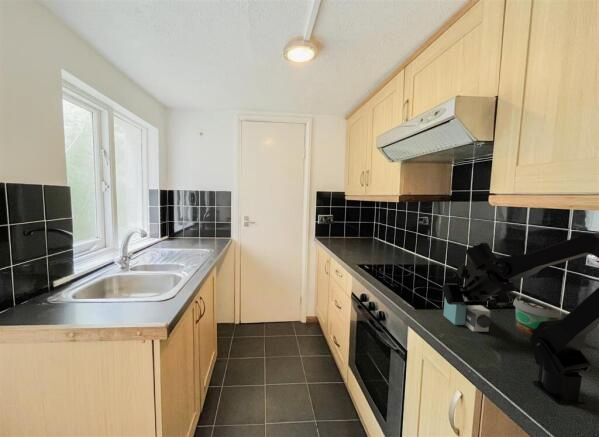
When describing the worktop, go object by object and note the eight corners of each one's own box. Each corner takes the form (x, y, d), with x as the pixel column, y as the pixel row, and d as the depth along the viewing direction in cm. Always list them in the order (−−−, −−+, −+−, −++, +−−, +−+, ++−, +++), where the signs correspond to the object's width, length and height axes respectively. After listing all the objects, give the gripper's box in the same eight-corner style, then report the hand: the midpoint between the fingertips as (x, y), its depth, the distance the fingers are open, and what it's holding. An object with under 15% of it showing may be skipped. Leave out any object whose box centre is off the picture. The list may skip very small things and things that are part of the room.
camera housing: (490, 333, 88) (492, 310, 87) (474, 333, 88) (476, 310, 87) (465, 314, 101) (466, 295, 100) (451, 314, 101) (453, 294, 100)
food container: (502, 326, 93) (505, 297, 92) (513, 323, 95) (516, 295, 94) (544, 345, 82) (548, 313, 81) (557, 342, 84) (561, 310, 83)
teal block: (464, 325, 93) (467, 298, 92) (454, 324, 93) (456, 298, 92) (452, 315, 100) (454, 291, 99) (443, 315, 100) (445, 291, 99)
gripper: (506, 260, 85) (479, 282, 97) (447, 259, 84) (427, 281, 96) (525, 294, 78) (493, 313, 90) (461, 293, 77) (437, 312, 89)
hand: (461, 304), depth 92 cm, fingers closed, pressing on teal block
